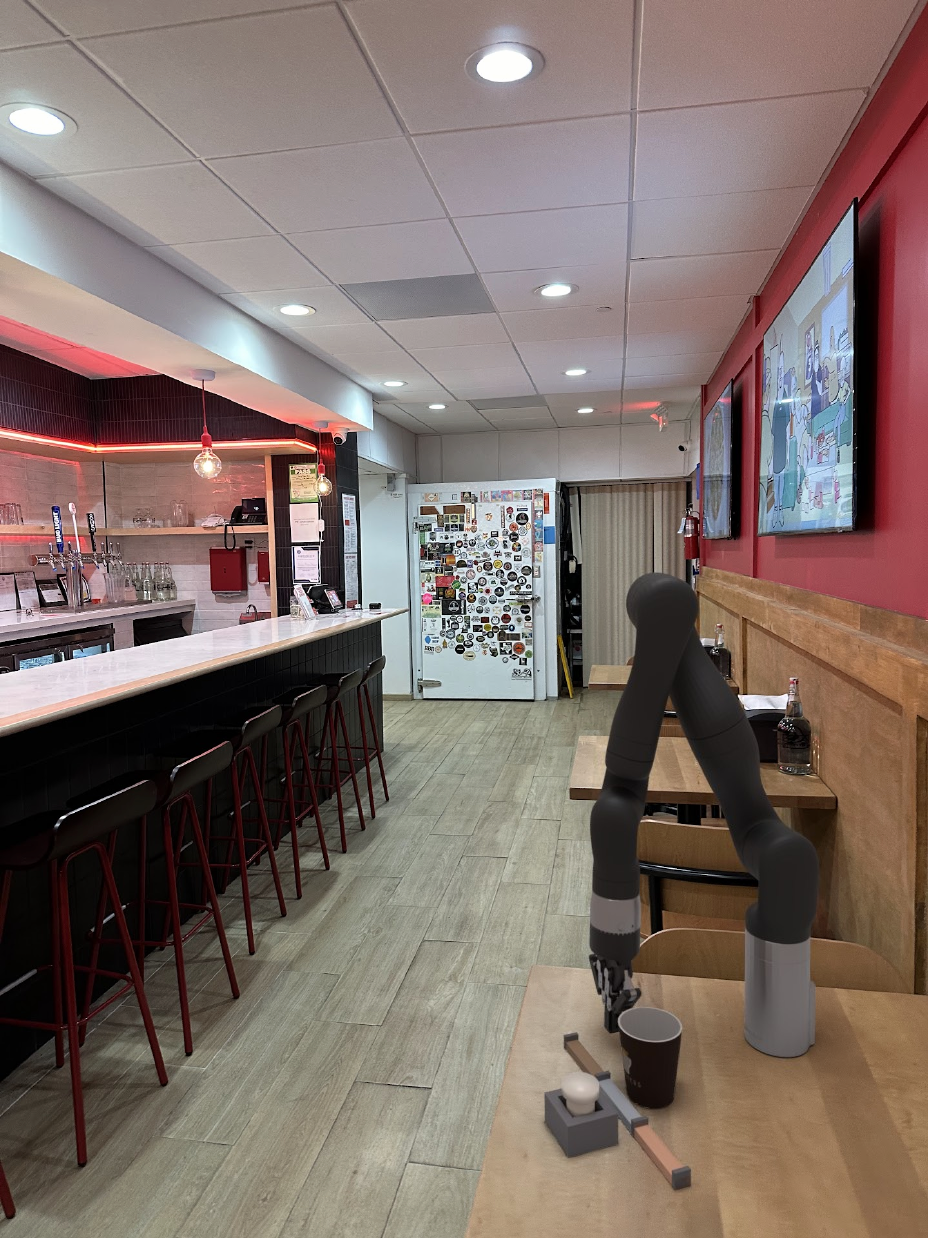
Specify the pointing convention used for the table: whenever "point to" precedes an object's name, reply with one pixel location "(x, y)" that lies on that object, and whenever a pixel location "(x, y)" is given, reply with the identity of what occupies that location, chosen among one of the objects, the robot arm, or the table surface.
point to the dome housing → (581, 1125)
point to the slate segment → (616, 1098)
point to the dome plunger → (580, 1093)
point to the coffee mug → (650, 1054)
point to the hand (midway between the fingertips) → (612, 1030)
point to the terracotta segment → (660, 1153)
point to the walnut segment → (581, 1054)
